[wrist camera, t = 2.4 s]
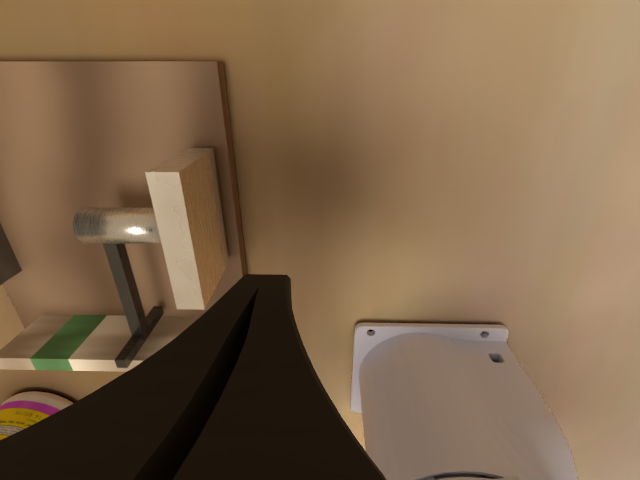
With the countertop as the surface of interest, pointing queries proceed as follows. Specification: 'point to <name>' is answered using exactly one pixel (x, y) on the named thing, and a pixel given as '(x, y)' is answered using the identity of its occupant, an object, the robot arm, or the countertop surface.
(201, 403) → the robot arm
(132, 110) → the base
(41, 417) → the supplement bottle
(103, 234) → the silver cylinder with block
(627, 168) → the countertop surface
